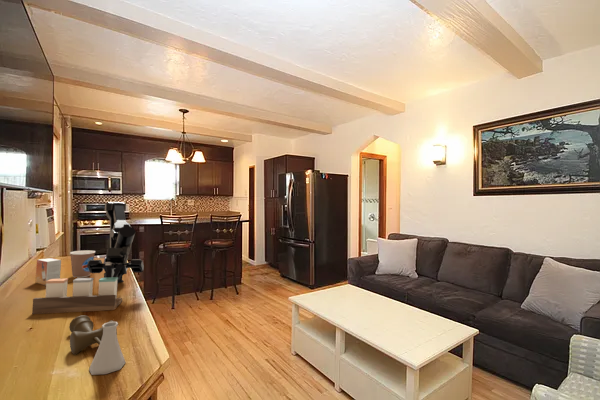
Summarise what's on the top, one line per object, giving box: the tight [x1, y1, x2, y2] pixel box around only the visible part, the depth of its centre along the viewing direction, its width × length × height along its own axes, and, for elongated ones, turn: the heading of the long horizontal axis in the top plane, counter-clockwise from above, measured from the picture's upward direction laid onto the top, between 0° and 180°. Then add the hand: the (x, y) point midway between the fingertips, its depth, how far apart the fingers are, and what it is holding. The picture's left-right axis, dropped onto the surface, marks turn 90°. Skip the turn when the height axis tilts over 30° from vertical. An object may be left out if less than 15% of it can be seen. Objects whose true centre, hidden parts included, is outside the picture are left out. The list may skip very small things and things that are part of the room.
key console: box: [31, 295, 123, 315], centre depth 103 cm, size 9×24×5 cm, turn 106°
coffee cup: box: [69, 249, 96, 279], centre depth 144 cm, size 10×10×12 cm
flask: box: [89, 321, 126, 376], centre depth 68 cm, size 7×7×10 cm
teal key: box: [97, 277, 118, 297], centre depth 106 cm, size 3×5×8 cm, turn 106°
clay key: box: [44, 277, 69, 298], centre depth 102 cm, size 3×5×8 cm, turn 106°
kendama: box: [68, 315, 118, 355], centre depth 78 cm, size 6×10×20 cm
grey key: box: [72, 277, 95, 296], centre depth 104 cm, size 3×5×8 cm, turn 106°
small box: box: [34, 257, 62, 286], centre depth 130 cm, size 8×6×10 cm
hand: (110, 285), depth 108 cm, fingers closed
